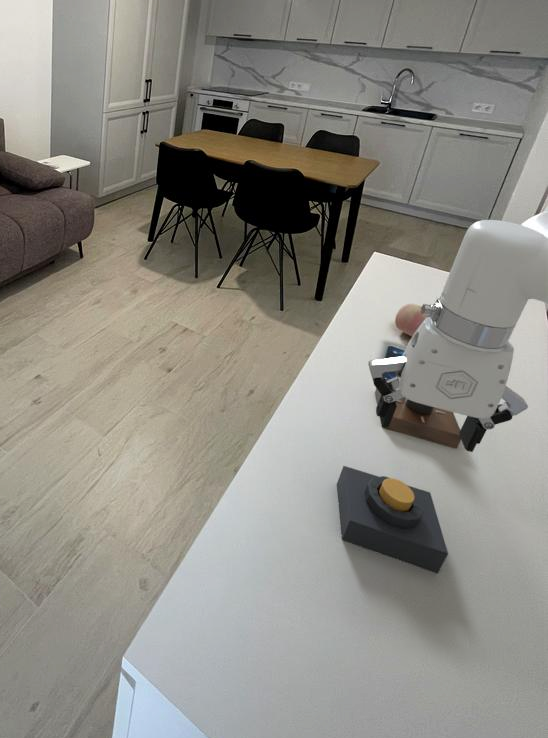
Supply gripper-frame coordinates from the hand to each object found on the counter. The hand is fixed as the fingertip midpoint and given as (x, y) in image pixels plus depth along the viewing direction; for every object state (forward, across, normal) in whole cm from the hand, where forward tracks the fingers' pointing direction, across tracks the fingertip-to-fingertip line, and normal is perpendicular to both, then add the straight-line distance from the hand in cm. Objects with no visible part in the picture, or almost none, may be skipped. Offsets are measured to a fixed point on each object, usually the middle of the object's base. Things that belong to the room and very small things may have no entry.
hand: (423, 431), depth 66 cm
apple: (+18, +14, +59) cm, 63 cm away
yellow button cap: (+13, 0, 0) cm, 13 cm away
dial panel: (+18, +9, +27) cm, 34 cm away
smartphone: (+18, +10, +43) cm, 48 cm away
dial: (+15, +9, +27) cm, 32 cm away
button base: (+18, 0, 0) cm, 18 cm away
